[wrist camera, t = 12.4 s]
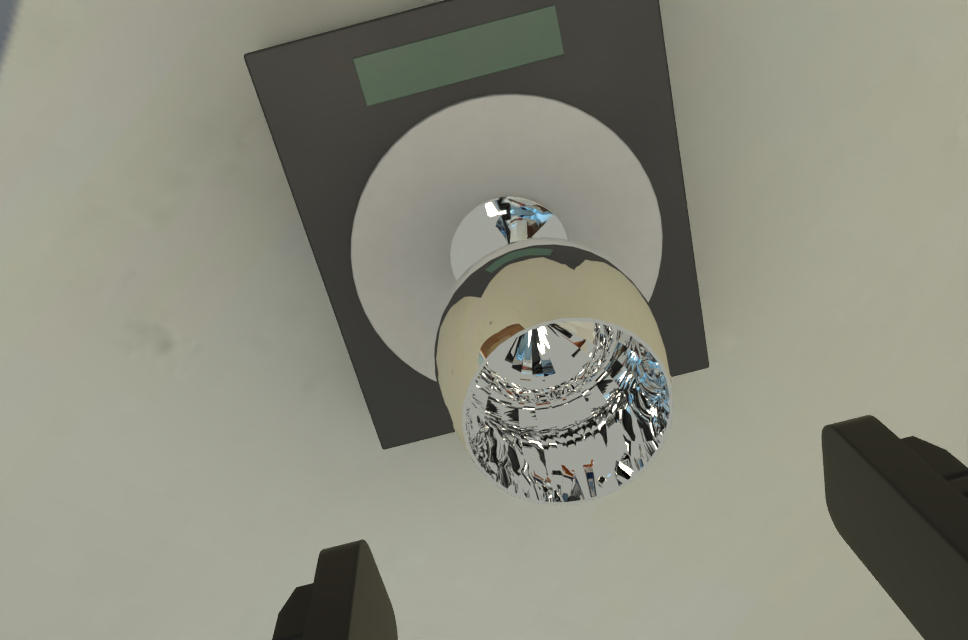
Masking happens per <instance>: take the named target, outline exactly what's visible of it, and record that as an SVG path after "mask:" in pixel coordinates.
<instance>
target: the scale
mask: <svg viewBox="0 0 968 640" xmlns="http://www.w3.org/2000/svg"><path fill="white" fill-rule="evenodd" d="M244 59H245V62H246V65H247V68H248V70H249V73H250V76H251V79H252V82H253V85H254V87H255V90H256V93H257V96H258V99H259V101H260V104H261V107H262V110H263V113H264V116H265V118H266V121H267V124H268V127H269V130H270V133H271V135H272V138H273V141H274V144H275V147H276V150H277V152H278V155H279V158H280V161H281V164H282V166H283V169H284V172H285V175H286V178H287V181H288V183H289V186H290V189H291V192H292V195H293V198H294V200H295V203H296V206H297V209H298V212H299V215H300V217H301V220H302V223H303V226H304V229H305V231H306V234H307V237H308V240H309V243H310V246H311V248H312V251H313V254H314V257H315V260H316V263H317V265H318V268H319V271H320V274H321V277H322V279H323V282H324V285H325V288H326V291H327V294H328V296H329V299H330V302H331V305H332V308H333V311H334V313H335V316H336V319H337V322H338V325H339V328H340V330H341V333H342V336H343V339H344V342H345V344H346V347H347V350H348V353H349V356H350V359H351V361H352V364H353V367H354V370H355V373H356V376H357V378H358V381H359V384H360V387H361V390H362V393H363V395H364V398H365V401H366V404H367V407H368V409H369V412H370V415H371V418H372V421H373V424H374V426H375V429H376V432H377V435H378V438H379V441H380V443H381V446H382V448H383V449H388V448H392V447H396V446H400V445H404V444H408V443H412V442H416V441H420V440H424V439H428V438H432V437H436V436H440V435H444V434H447V433H451V432H455V429H454V427H453V426H452V424H451V422H450V420H449V418H448V415H447V413H446V410H445V407H444V404H443V401H442V398H441V395H440V391H439V388H438V384H437V380H436V376H435V368H434V337H435V330H436V325H437V321H438V318H439V315H440V312H441V309H442V306H443V304H444V302H445V300H446V298H447V296H448V295H449V293H450V291H451V289H452V287H453V285H454V284H455V283H456V281H455V278H454V276H453V273H452V270H451V265H450V245H451V240H452V237H453V235H454V232H455V230H456V228H457V226H458V225H459V223H460V222H461V220H462V219H463V218H464V216H465V215H466V214H467V213H469V212H470V211H471V210H472V209H473V208H474V207H476V206H477V205H479V204H481V203H483V202H484V201H486V200H489V199H492V198H495V197H499V196H508V195H517V196H523V197H529V198H531V199H533V200H536V201H538V202H540V203H542V204H544V205H545V206H546V207H548V208H549V209H550V210H551V211H553V212H554V213H555V214H556V215H557V217H558V218H559V219H560V221H561V222H562V224H563V226H564V228H565V230H566V233H567V236H568V240H569V241H573V242H577V243H580V244H582V245H584V246H587V247H589V248H592V249H593V250H595V251H597V252H599V253H601V254H602V255H604V256H606V257H607V258H609V259H610V260H611V261H613V262H614V263H615V264H616V265H618V266H619V267H620V268H621V269H622V270H623V271H625V272H626V273H627V275H628V276H629V277H630V278H631V279H632V281H633V282H634V283H635V284H636V286H637V287H638V289H639V290H640V291H641V293H642V294H643V296H644V297H645V298H646V300H647V301H648V304H649V306H650V308H651V310H652V312H653V314H654V316H655V319H656V321H657V323H658V326H659V329H660V331H661V334H662V337H663V340H664V344H665V347H666V352H667V357H668V362H669V367H670V372H671V377H673V376H677V375H681V374H685V373H689V372H693V371H697V370H701V369H705V368H708V367H709V361H708V354H707V346H706V339H705V332H704V325H703V317H702V310H701V303H700V296H699V288H698V281H697V274H696V267H695V259H694V252H693V245H692V238H691V231H690V223H689V216H688V209H687V202H686V194H685V187H684V180H683V173H682V165H681V158H680V151H679V144H678V136H677V129H676V122H675V115H674V107H673V100H672V93H671V86H670V78H669V71H668V64H667V57H666V49H665V42H664V35H663V28H662V20H661V13H660V6H659V0H444V1H441V2H437V3H433V4H430V5H426V6H422V7H418V8H415V9H411V10H407V11H403V12H400V13H396V14H392V15H388V16H385V17H381V18H377V19H374V20H370V21H366V22H362V23H359V24H355V25H351V26H347V27H344V28H340V29H336V30H332V31H329V32H325V33H321V34H318V35H314V36H310V37H306V38H303V39H299V40H295V41H291V42H288V43H284V44H280V45H276V46H273V47H269V48H265V49H262V50H258V51H254V52H250V53H247V54H245V55H244Z"/></svg>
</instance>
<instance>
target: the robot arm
mask: <svg viewBox="0 0 968 640" xmlns="http://www.w3.org/2000/svg"><path fill="white" fill-rule="evenodd" d="M822 451H823V466H824V481H825V496H826V503H827V507H828V511H829V514H830V516H831V519H832V521H833V523H834V525H835V527H836V529H837V531H838V532H839V534H840V535H841V536H842V538H843V539H844V540H845V541H846V543H847V544H848V545H849V546H850V548H851V549H852V550H853V551H854V553H855V554H856V555H857V556H858V558H859V559H860V560H861V561H862V563H863V564H864V565H865V566H866V567H867V569H868V570H869V571H870V572H871V574H872V575H873V576H874V577H875V579H876V580H877V581H878V582H879V584H880V585H881V586H882V587H883V589H884V590H885V591H886V592H887V593H888V595H889V596H890V597H891V598H892V600H893V601H894V602H895V603H896V605H897V606H898V607H899V608H900V610H901V611H902V612H903V613H904V615H905V616H906V617H907V618H908V619H909V621H910V622H911V623H912V624H913V626H914V627H915V628H916V629H917V631H918V632H919V633H920V634H921V636H922V637H923V638H924V639H925V640H968V468H967V467H966V466H965V465H964V464H962V463H961V462H960V461H959V460H958V459H956V458H955V457H954V456H953V455H951V454H950V453H949V452H948V451H947V450H945V449H942V448H940V447H938V446H935V445H933V444H931V443H928V442H926V441H924V440H921V439H919V438H917V437H914V436H911V437H907V438H903V439H900V438H898V437H897V436H896V435H895V434H894V433H893V432H892V431H890V430H889V429H888V428H887V427H886V426H885V425H884V424H882V423H881V422H880V421H879V420H878V419H877V418H875V417H874V416H871V415H866V416H862V417H858V418H854V419H850V420H846V421H842V422H838V423H834V424H830V425H826V426H825V427H824V428H823V430H822ZM272 640H398V636H397V626H396V620H395V615H394V611H393V608H392V604H391V602H390V599H389V596H388V594H387V591H386V589H385V586H384V584H383V581H382V578H381V576H380V573H379V571H378V568H377V566H376V563H375V560H374V558H373V555H372V553H371V550H370V548H369V546H368V544H367V542H366V541H365V540H359V541H355V542H351V543H347V544H343V545H339V546H335V547H331V548H327V549H323V550H321V552H320V554H319V558H318V563H317V568H316V573H315V578H314V583H312V584H308V585H304V586H300V587H296V589H295V590H294V592H293V593H292V594H291V596H290V597H289V599H288V600H287V602H286V603H285V605H284V606H283V608H282V609H281V611H280V612H279V614H278V618H277V622H276V626H275V631H274V635H273V639H272Z"/></svg>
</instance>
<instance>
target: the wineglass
mask: <svg viewBox="0 0 968 640" xmlns="http://www.w3.org/2000/svg"><path fill="white" fill-rule="evenodd" d="M450 265H451V270H452V273H453V276H454V278H455V281H456V283H455V284H454V285H453V287H452V289H451V291H450V293H449V295H448V296H447V298H446V300H445V302H444V304H443V306H442V309H441V312H440V315H439V318H438V321H437V325H436V330H435V337H434V368H435V376H436V380H437V384H438V388H439V391H440V395H441V398H442V401H443V404H444V407H445V410H446V413H447V415H448V418H449V420H450V422H451V424H452V426H453V427H454V429H455V431H456V433H457V435H458V437H459V439H460V441H461V443H462V445H463V446H464V448H465V449H466V451H467V452H468V454H469V455H470V457H471V458H472V460H473V461H474V463H475V465H476V466H477V467H478V468H479V470H480V471H481V472H482V473H483V474H484V475H485V476H486V477H487V478H488V479H489V480H490V481H491V482H492V483H493V484H494V485H496V486H497V487H499V488H500V489H501V490H503V491H505V492H507V493H509V494H510V495H512V496H515V497H518V498H520V499H523V500H526V501H530V502H534V503H538V504H547V505H572V504H578V503H583V502H588V501H592V500H595V499H598V498H601V497H603V496H606V495H608V494H611V493H613V492H615V491H616V490H618V489H620V488H621V487H623V486H625V485H626V484H628V483H630V482H631V481H632V480H633V479H635V478H636V477H637V476H638V475H639V474H640V473H641V472H642V471H644V470H645V469H646V468H647V467H648V465H649V464H650V463H651V461H652V460H653V459H654V457H655V456H656V455H657V453H658V452H659V451H660V449H661V447H662V445H663V443H664V440H665V438H666V436H667V433H668V431H669V429H670V425H671V419H672V413H673V406H674V405H673V393H672V380H671V372H670V367H669V362H668V357H667V352H666V347H665V344H664V340H663V337H662V334H661V331H660V329H659V326H658V323H657V321H656V319H655V316H654V314H653V312H652V310H651V308H650V306H649V304H648V301H647V300H646V298H645V297H644V296H643V294H642V293H641V291H640V290H639V289H638V287H637V286H636V284H635V283H634V282H633V281H632V279H631V278H630V277H629V276H628V275H627V273H626V272H625V271H623V270H622V269H621V268H620V267H619V266H618V265H616V264H615V263H614V262H613V261H611V260H610V259H609V258H607V257H606V256H604V255H602V254H601V253H599V252H597V251H595V250H593V249H592V248H589V247H587V246H584V245H582V244H580V243H577V242H573V241H569V240H568V236H567V233H566V230H565V228H564V226H563V224H562V222H561V221H560V219H559V218H558V217H557V215H556V214H555V213H554V212H553V211H551V210H550V209H549V208H548V207H546V206H545V205H544V204H542V203H540V202H538V201H536V200H533V199H531V198H529V197H523V196H517V195H508V196H499V197H495V198H492V199H489V200H486V201H484V202H483V203H481V204H479V205H477V206H476V207H474V208H473V209H472V210H471V211H470V212H469V213H467V214H466V215H465V216H464V218H463V219H462V220H461V222H460V223H459V225H458V226H457V228H456V230H455V232H454V235H453V237H452V240H451V245H450Z"/></svg>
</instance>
